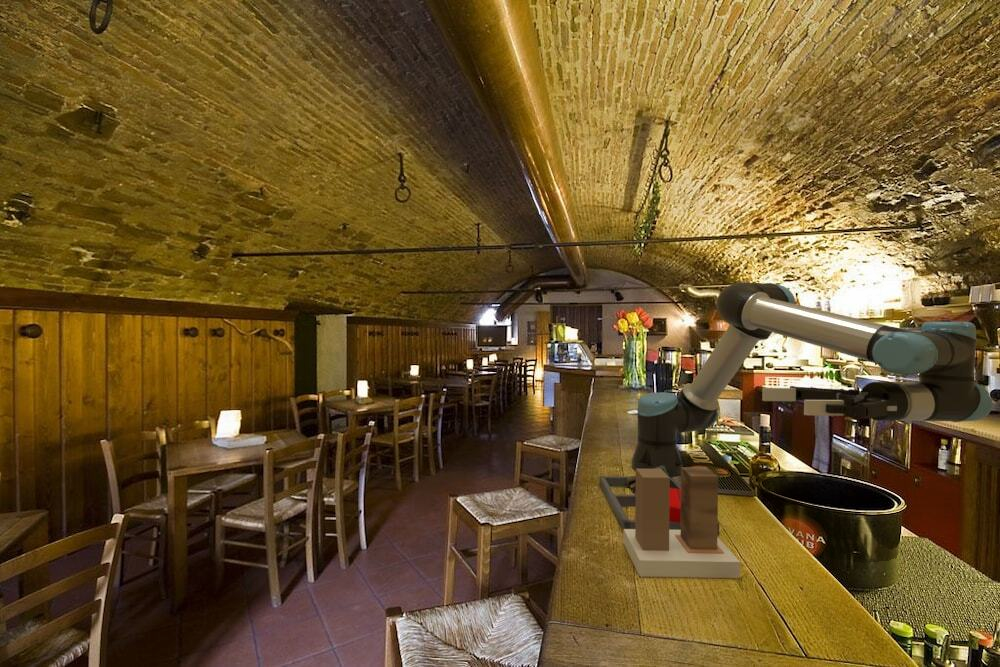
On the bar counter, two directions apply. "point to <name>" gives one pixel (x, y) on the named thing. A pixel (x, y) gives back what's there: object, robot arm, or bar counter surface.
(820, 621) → the bar counter surface
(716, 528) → the walnut pillar
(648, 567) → the base board
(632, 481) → the chocolate cake
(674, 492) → the french fries container
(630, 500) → the charcoal tray rim
